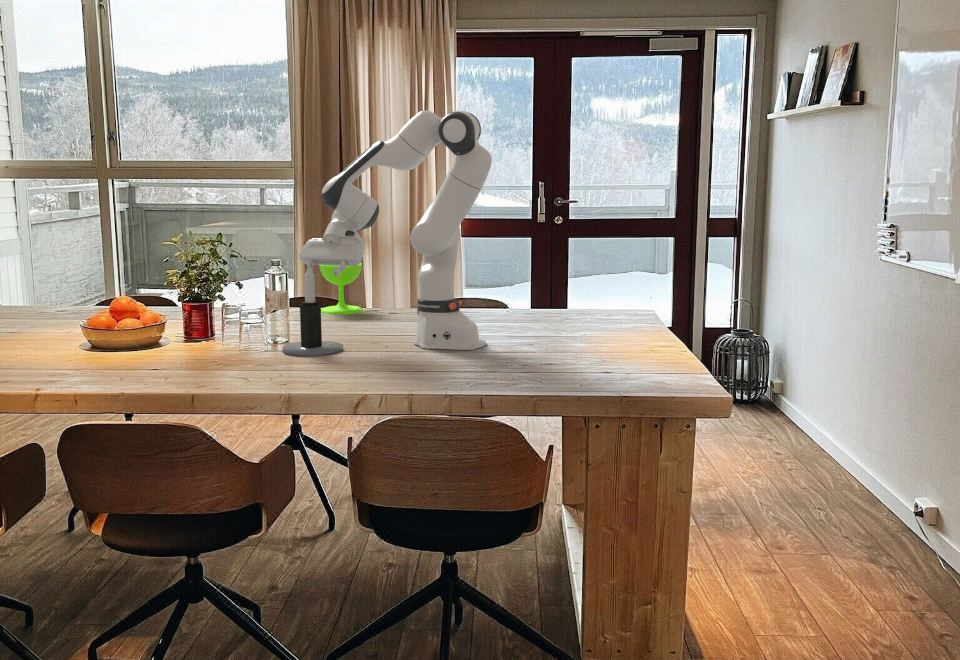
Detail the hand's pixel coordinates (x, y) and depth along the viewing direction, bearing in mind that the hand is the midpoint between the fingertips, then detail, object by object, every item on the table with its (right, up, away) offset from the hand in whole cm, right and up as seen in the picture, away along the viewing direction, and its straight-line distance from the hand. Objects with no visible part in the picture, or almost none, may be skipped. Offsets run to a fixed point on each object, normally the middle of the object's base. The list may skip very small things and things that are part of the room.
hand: (322, 273), depth 280 cm
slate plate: (-3, -23, -2) cm, 23 cm away
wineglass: (-5, -10, +72) cm, 73 cm away
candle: (-3, -22, -2) cm, 22 cm away
